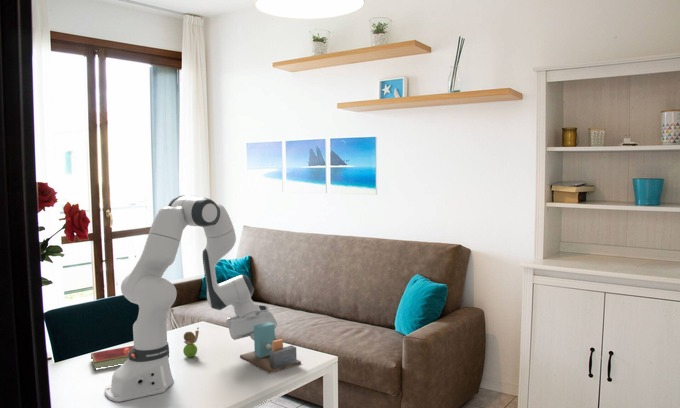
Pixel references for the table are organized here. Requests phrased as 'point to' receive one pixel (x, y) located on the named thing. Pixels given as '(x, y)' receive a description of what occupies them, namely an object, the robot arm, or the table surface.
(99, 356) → the hardcover book
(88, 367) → the table surface
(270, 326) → the teal upright block
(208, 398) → the table surface
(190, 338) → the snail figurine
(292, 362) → the grey lying block
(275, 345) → the orange flat block
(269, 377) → the table surface
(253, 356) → the brown wooden base board
